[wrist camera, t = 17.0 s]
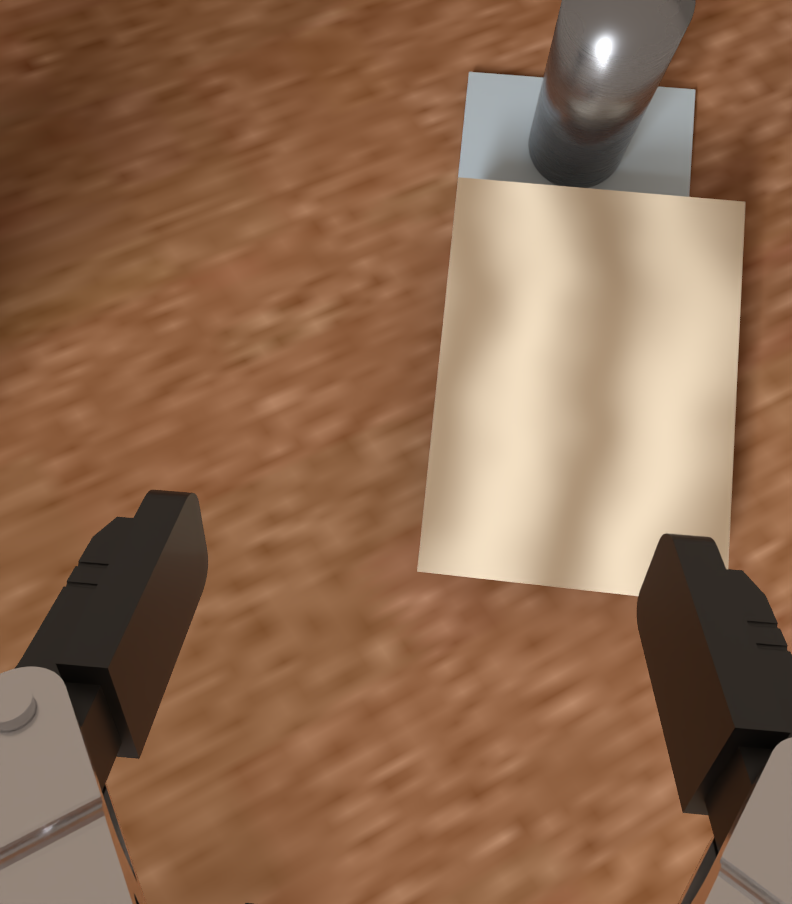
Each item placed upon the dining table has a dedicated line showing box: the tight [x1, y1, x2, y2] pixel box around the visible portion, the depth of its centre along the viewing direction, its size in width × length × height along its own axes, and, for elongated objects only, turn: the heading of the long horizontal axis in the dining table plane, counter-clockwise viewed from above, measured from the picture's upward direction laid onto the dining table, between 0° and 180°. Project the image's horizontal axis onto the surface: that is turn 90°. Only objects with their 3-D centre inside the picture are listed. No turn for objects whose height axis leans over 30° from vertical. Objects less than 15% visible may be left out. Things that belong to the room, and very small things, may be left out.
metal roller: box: [528, 0, 695, 188], centre depth 32 cm, size 5×5×10 cm
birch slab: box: [417, 177, 745, 596], centre depth 34 cm, size 13×18×5 cm
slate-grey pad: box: [458, 72, 695, 197], centre depth 38 cm, size 12×7×1 cm, turn 84°
